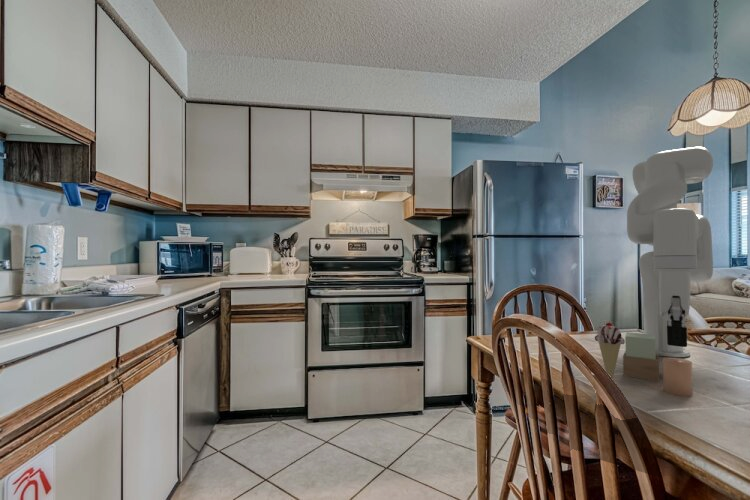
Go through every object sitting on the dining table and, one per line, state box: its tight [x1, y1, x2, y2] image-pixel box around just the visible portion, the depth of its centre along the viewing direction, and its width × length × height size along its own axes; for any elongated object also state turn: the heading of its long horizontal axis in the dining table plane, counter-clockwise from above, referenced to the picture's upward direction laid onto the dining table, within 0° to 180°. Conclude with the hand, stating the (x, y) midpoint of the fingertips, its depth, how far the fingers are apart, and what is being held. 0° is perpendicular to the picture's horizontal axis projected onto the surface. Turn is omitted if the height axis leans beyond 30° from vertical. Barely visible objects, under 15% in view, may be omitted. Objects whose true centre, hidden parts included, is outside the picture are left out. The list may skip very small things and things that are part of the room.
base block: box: [622, 350, 660, 382], centre depth 93 cm, size 7×7×5 cm
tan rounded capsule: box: [662, 356, 694, 398], centre depth 81 cm, size 5×5×7 cm
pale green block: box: [624, 331, 656, 360], centre depth 94 cm, size 6×6×5 cm
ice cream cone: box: [594, 322, 626, 379], centre depth 84 cm, size 6×6×15 cm
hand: (676, 342), depth 81 cm, fingers open, 9 cm apart
